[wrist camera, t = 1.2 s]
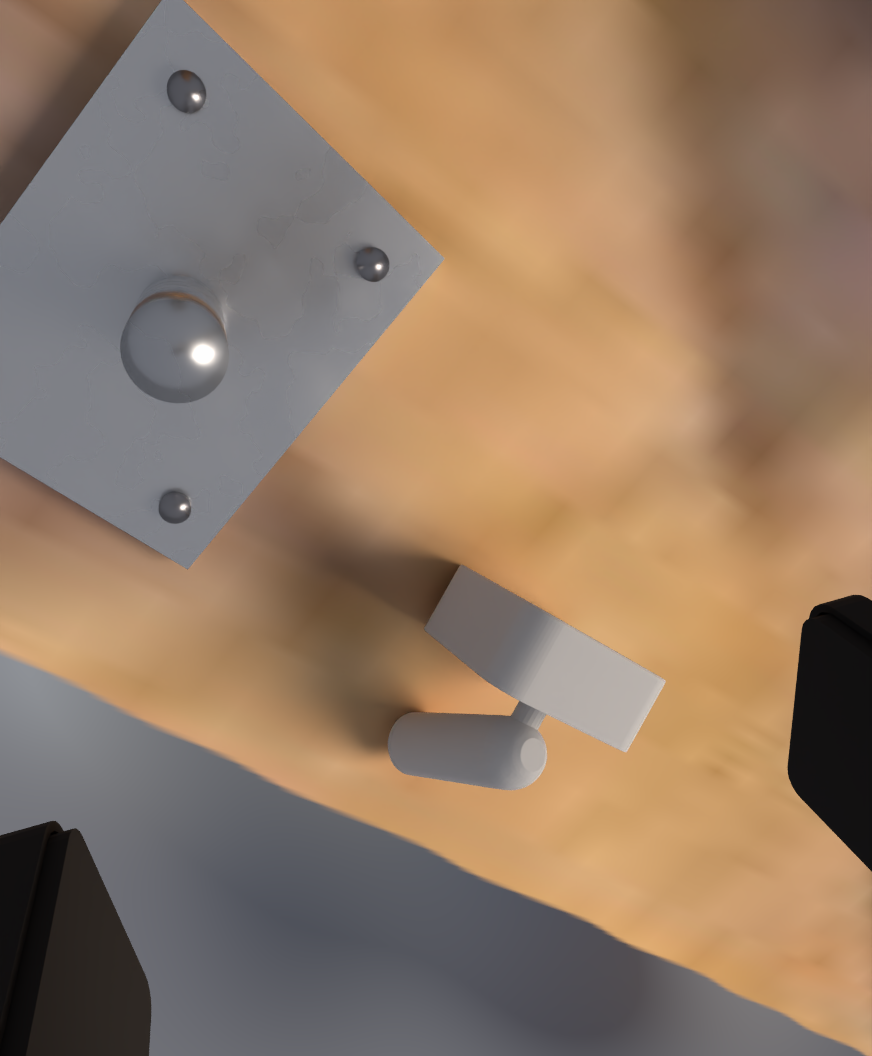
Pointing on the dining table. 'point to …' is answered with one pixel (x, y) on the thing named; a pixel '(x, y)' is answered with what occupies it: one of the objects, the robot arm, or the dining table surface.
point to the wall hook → (518, 689)
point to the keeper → (187, 289)
